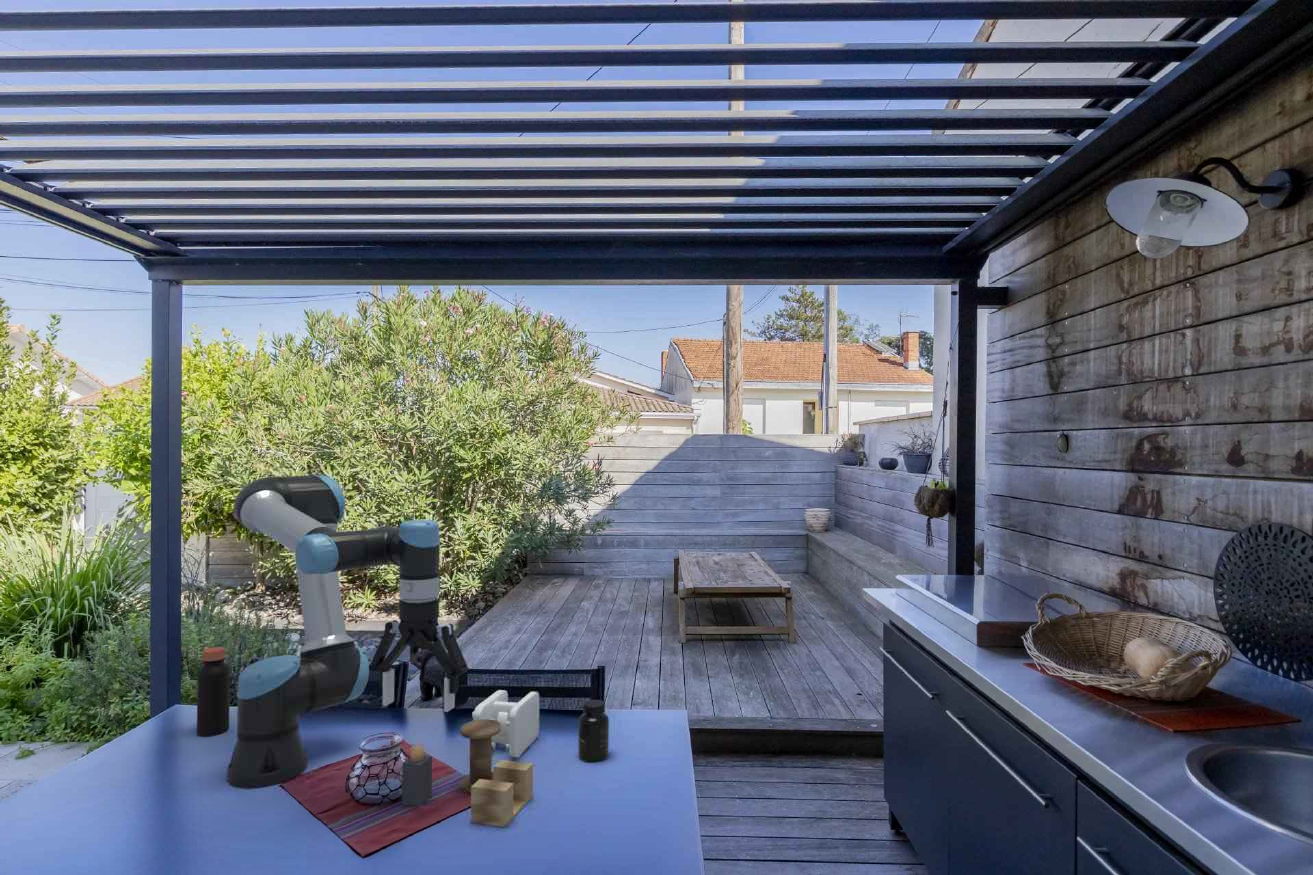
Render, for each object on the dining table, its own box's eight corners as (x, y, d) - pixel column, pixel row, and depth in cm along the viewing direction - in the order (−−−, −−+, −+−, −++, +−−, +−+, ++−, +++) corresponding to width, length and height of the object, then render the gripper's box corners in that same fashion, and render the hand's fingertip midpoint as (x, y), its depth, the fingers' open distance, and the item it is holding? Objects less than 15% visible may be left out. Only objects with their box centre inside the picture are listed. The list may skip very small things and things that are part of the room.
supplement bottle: (572, 759, 160) (573, 705, 161) (587, 748, 167) (587, 696, 167) (600, 764, 158) (600, 710, 158) (613, 752, 164) (614, 700, 164)
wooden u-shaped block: (470, 822, 133) (471, 786, 133) (500, 792, 145) (500, 759, 145) (505, 827, 132) (505, 791, 132) (532, 796, 143) (532, 763, 143)
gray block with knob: (402, 803, 140) (402, 750, 140) (413, 794, 144) (414, 742, 144) (420, 806, 139) (420, 752, 139) (431, 796, 143) (432, 744, 143)
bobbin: (453, 791, 145) (453, 731, 146) (472, 774, 153) (472, 717, 153) (489, 796, 143) (489, 735, 144) (507, 778, 151) (507, 721, 151)
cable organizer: (514, 764, 158) (514, 711, 158) (470, 760, 160) (470, 707, 160) (540, 737, 173) (540, 689, 173) (499, 734, 175) (499, 686, 175)
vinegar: (199, 728, 178) (200, 647, 178) (230, 724, 180) (231, 644, 181) (194, 738, 171) (195, 654, 172) (227, 734, 174) (228, 651, 175)
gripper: (352, 599, 142) (351, 707, 142) (466, 606, 136) (466, 718, 135) (376, 592, 149) (375, 694, 149) (485, 598, 143) (484, 705, 143)
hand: (418, 706), depth 142 cm, fingers open, 13 cm apart
